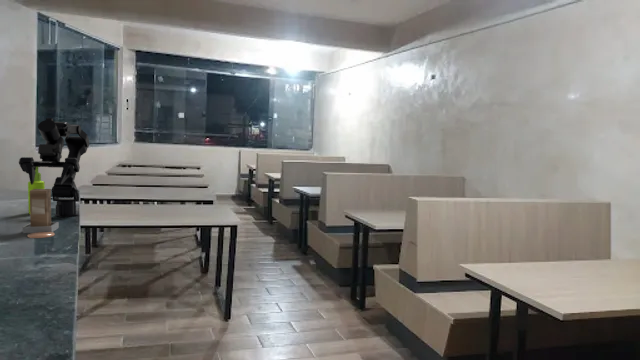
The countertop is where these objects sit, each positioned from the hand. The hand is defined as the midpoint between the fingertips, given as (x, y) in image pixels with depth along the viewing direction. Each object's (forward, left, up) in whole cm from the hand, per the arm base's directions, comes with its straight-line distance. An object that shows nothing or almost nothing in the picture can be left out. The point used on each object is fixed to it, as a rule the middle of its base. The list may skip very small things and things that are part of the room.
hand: (46, 184), depth 168 cm
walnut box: (+5, +5, -15) cm, 17 cm away
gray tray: (+5, +5, -16) cm, 17 cm away
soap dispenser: (-14, -31, -16) cm, 38 cm away
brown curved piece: (+9, +13, -16) cm, 22 cm away
